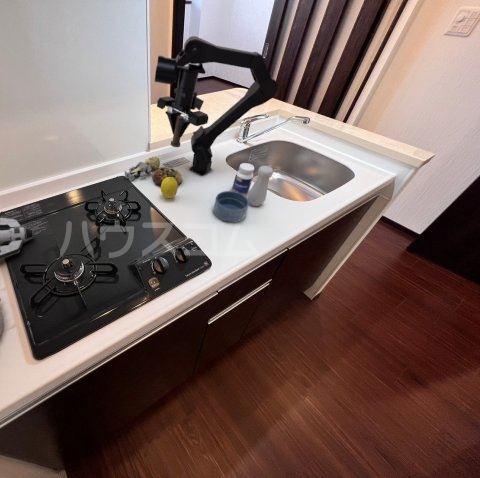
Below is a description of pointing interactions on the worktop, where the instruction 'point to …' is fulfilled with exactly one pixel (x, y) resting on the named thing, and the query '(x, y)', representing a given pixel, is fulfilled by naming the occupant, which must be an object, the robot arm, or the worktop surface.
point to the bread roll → (166, 175)
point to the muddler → (176, 133)
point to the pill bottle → (243, 179)
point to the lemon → (169, 187)
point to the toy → (143, 168)
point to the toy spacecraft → (12, 237)
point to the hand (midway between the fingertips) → (177, 135)
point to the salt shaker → (260, 186)
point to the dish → (1, 321)
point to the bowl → (231, 206)
